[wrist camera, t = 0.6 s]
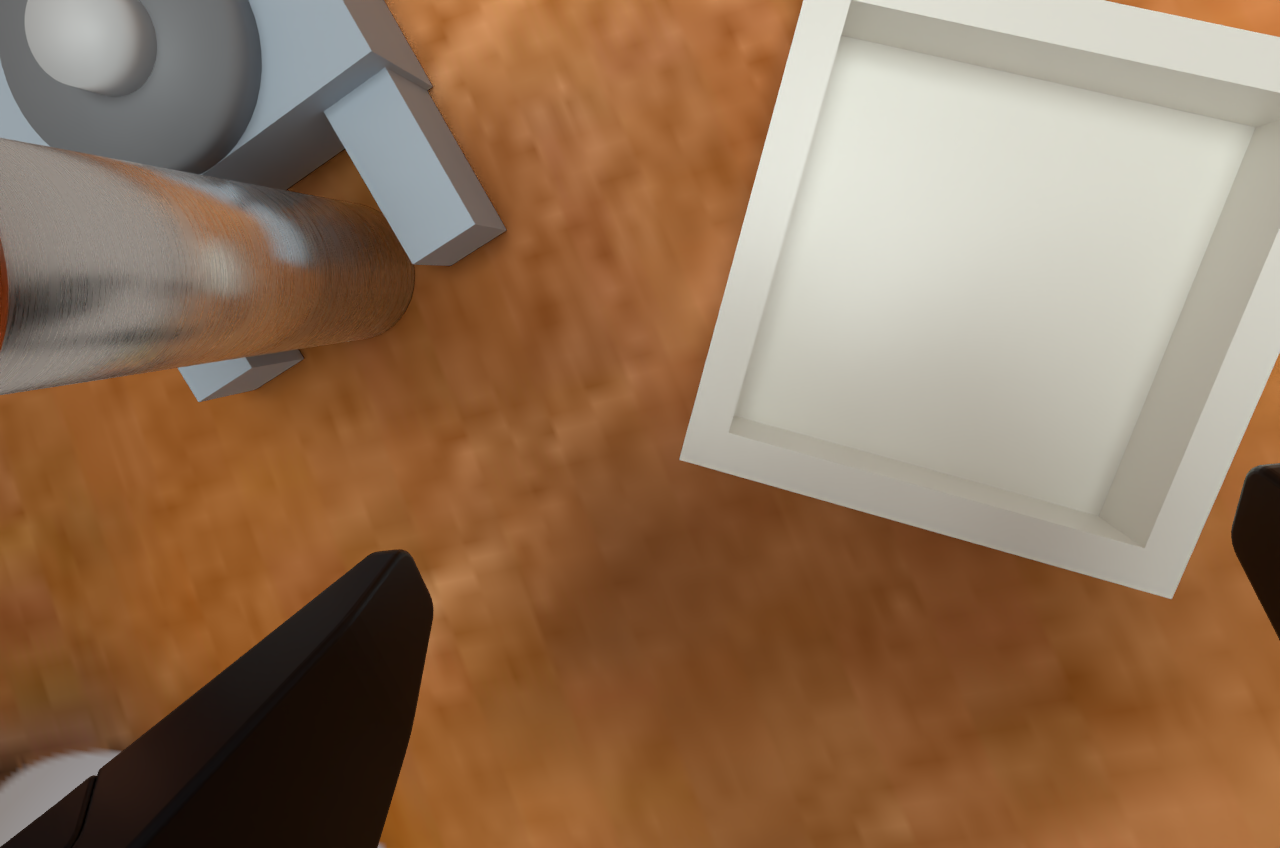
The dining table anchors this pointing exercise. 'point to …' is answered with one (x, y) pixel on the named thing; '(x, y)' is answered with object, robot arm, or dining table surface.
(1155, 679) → the dining table surface
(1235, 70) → the tray
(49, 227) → the pin
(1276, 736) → the dining table surface
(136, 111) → the tensioner block
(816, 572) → the dining table surface
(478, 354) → the dining table surface
